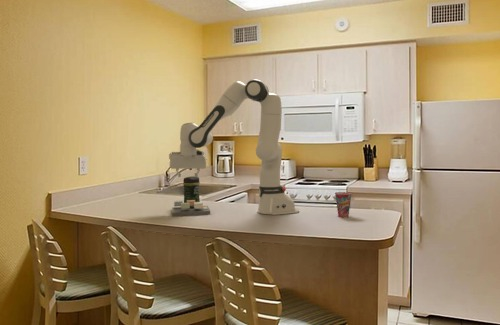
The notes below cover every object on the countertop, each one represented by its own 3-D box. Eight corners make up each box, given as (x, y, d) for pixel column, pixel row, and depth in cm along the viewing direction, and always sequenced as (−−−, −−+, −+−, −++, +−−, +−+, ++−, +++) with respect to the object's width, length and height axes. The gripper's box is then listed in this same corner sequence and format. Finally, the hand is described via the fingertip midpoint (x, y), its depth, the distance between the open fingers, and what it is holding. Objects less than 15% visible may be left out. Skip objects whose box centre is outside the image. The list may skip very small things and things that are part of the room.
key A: (202, 206, 242) (202, 201, 242) (202, 207, 238) (202, 203, 238) (194, 206, 242) (193, 202, 242) (194, 208, 237) (194, 203, 237)
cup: (339, 218, 218) (339, 194, 218) (332, 215, 226) (331, 192, 226) (356, 217, 221) (356, 193, 220) (348, 214, 229) (348, 191, 228)
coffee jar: (192, 209, 254) (191, 177, 252) (181, 208, 258) (180, 177, 257) (202, 207, 262) (201, 176, 261) (192, 206, 266) (191, 175, 265)
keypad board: (207, 209, 254) (207, 205, 254) (210, 214, 237) (210, 210, 237) (172, 210, 251) (172, 206, 251) (172, 216, 233) (172, 212, 233)
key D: (182, 204, 249) (182, 200, 249) (182, 206, 245) (182, 201, 245) (174, 205, 249) (174, 200, 249) (174, 206, 244) (174, 202, 244)
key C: (195, 204, 251) (194, 199, 251) (195, 205, 246) (195, 201, 246) (186, 204, 250) (186, 200, 250) (187, 205, 246) (187, 201, 245)
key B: (189, 207, 241) (189, 202, 241) (189, 208, 237) (189, 203, 237) (181, 207, 240) (180, 202, 240) (181, 208, 236) (181, 204, 236)
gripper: (169, 152, 241) (169, 177, 242) (206, 152, 246) (206, 177, 247) (168, 151, 248) (168, 176, 249) (205, 151, 252) (204, 175, 253)
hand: (187, 176), depth 248 cm, fingers open, 8 cm apart
